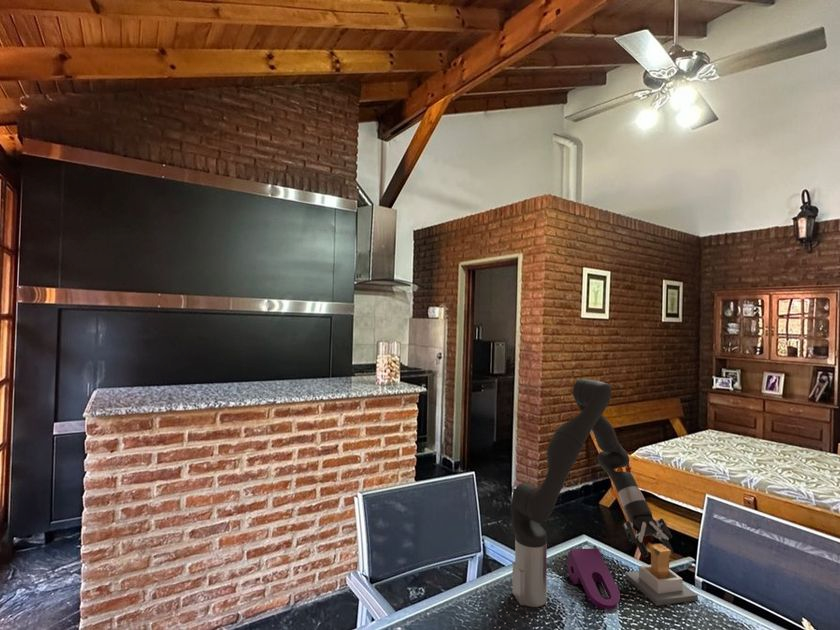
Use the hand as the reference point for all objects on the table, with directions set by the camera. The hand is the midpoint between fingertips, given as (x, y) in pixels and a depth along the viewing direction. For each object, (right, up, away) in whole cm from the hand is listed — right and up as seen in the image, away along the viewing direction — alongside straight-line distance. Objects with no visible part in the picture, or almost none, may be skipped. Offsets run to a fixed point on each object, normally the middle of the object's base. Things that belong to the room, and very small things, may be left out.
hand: (658, 555), depth 136 cm
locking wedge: (0, -8, -1) cm, 8 cm away
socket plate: (0, -10, -1) cm, 10 cm away
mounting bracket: (-21, -10, -2) cm, 24 cm away
